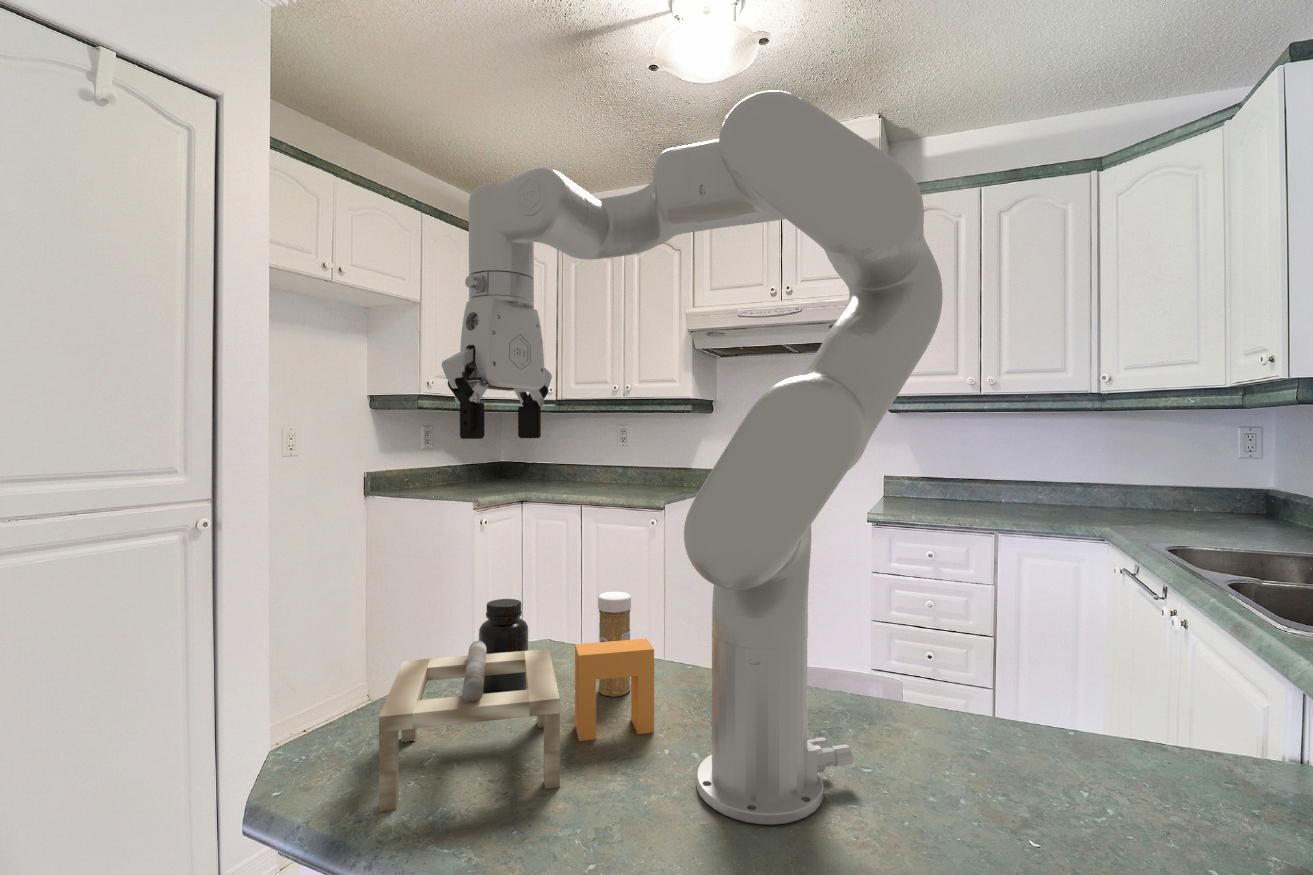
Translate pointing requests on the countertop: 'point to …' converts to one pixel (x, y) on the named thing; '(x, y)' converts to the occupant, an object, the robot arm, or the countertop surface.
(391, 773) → the wooden frame stool
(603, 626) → the sprinkles bottle
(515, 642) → the supplement bottle
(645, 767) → the countertop surface
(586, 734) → the orange block
